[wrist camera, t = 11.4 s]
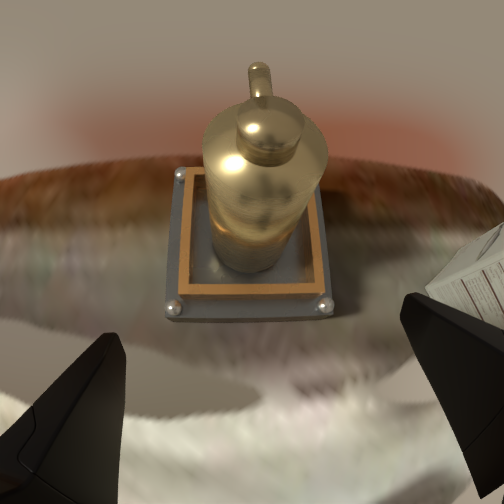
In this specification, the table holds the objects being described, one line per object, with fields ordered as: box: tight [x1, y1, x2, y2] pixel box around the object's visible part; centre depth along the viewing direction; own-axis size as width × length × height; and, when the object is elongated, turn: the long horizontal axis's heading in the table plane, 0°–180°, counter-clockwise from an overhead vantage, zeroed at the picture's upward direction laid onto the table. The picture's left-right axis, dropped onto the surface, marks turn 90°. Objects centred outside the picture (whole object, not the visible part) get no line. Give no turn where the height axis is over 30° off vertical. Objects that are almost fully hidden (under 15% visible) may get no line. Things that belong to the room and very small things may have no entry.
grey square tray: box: [165, 167, 334, 323], centre depth 21 cm, size 11×11×5 cm
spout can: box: [202, 62, 328, 273], centre depth 15 cm, size 6×5×12 cm
